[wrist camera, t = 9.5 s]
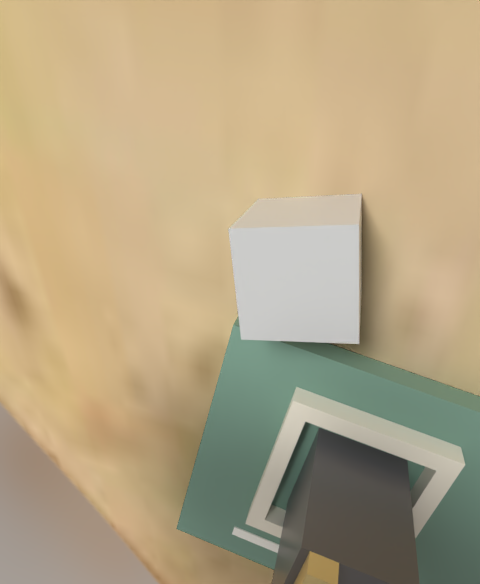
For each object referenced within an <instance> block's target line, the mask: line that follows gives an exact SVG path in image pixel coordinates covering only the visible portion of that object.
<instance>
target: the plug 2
mask: <svg viewBox="0 0 480 584" xmlns="http://www.w3.org/2000/svg"><path fill="white" fill-rule="evenodd" d="M272 584H420V583H419V573H418V563H417V553H416V542H415V532H414V522H413V512H412V502H411V492H410V482H409V472H408V462H407V460H405V459H403V458H400V457H397V456H394V455H392V454H389V453H386V452H384V451H381V450H378V449H376V448H373V447H370V446H367V445H365V444H362V443H359V442H357V441H354V440H351V439H348V438H346V437H343V436H340V435H338V434H335V433H332V432H329V431H327V430H324V429H321V428H319V429H318V432H317V434H316V436H315V439H314V441H313V443H312V446H311V448H310V450H309V453H308V455H307V457H306V460H305V462H304V464H303V467H302V469H301V471H300V474H299V476H298V478H297V481H296V483H295V485H294V488H293V490H292V492H291V495H290V497H289V499H288V503H287V508H286V513H285V518H284V523H283V529H282V534H281V539H280V544H279V549H278V554H277V559H276V564H275V569H274V574H273V579H272Z"/></svg>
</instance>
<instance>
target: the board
mask: <svg viewBox="0 0 480 584" xmlns="http://www.w3.org/2000/svg"><path fill="white" fill-rule="evenodd" d="M319 428H321V429H324V430H327V431H329V432H332V433H335V434H338V435H340V436H343V437H346V438H348V439H351V440H354V441H357V442H359V443H362V444H365V445H367V446H370V447H373V448H376V449H378V450H381V451H384V452H386V453H389V454H392V455H394V456H397V457H400V458H403V459H405V460H407V462H408V472H409V482H410V492H411V502H412V512H413V522H414V532H415V542H416V553H417V563H418V573H419V583H420V584H480V397H479V396H477V395H474V394H471V393H468V392H465V391H462V390H460V389H457V388H454V387H451V386H448V385H445V384H442V383H440V382H437V381H434V380H431V379H428V378H425V377H423V376H420V375H417V374H414V373H411V372H408V371H405V370H403V369H400V368H397V367H394V366H391V365H388V364H385V363H383V362H380V361H377V360H374V359H371V358H368V357H366V356H363V355H360V354H357V353H354V352H351V351H348V350H346V349H343V348H340V347H337V346H334V345H331V344H329V343H319V342H293V341H266V340H241V334H240V325H239V317H238V318H237V320H236V321H235V323H234V325H233V328H232V332H231V335H230V339H229V343H228V346H227V350H226V353H225V357H224V361H223V364H222V368H221V371H220V375H219V378H218V382H217V386H216V389H215V393H214V396H213V400H212V404H211V407H210V411H209V414H208V418H207V421H206V425H205V429H204V432H203V436H202V439H201V443H200V446H199V450H198V454H197V457H196V461H195V464H194V468H193V472H192V475H191V479H190V482H189V486H188V489H187V493H186V497H185V500H184V504H183V507H182V511H181V515H180V518H179V522H178V525H177V529H178V530H181V531H183V532H185V533H188V534H190V535H192V536H195V537H197V538H200V539H202V540H204V541H207V542H209V543H211V544H214V545H216V546H219V547H221V548H223V549H226V550H228V551H230V552H233V553H235V554H238V555H240V556H242V557H245V558H247V559H249V560H252V561H254V562H257V563H259V564H261V565H264V566H266V567H268V568H271V569H273V570H274V569H275V564H276V559H277V554H278V549H279V544H280V539H281V534H282V529H283V523H284V518H285V513H286V508H287V503H288V499H289V497H290V495H291V492H292V490H293V488H294V485H295V483H296V481H297V478H298V476H299V474H300V471H301V469H302V467H303V464H304V462H305V460H306V457H307V455H308V453H309V450H310V448H311V446H312V443H313V441H314V439H315V436H316V434H317V432H318V429H319Z"/></svg>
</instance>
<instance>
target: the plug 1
mask: <svg viewBox="0 0 480 584" xmlns="http://www.w3.org/2000/svg"><path fill="white" fill-rule="evenodd" d="M229 238H230V246H231V255H232V264H233V273H234V281H235V290H236V299H237V308H238V317H239V325H240V334H241V340H266V341H293V342H319V343H345V344H359V337H360V315H361V292H362V194H347V195H327V196H307V197H286V198H266V199H258V200H257V201H256V202H255V203H254V204H253V205H252V206H251V207H250V208H249V209H248V210H247V211H246V212H245V213H244V214H243V215H242V216H241V217H240V218H239V219H238V220H237V221H236V222H235V223H234V224H233V225H232V226H231V227H230V228H229Z"/></svg>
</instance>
